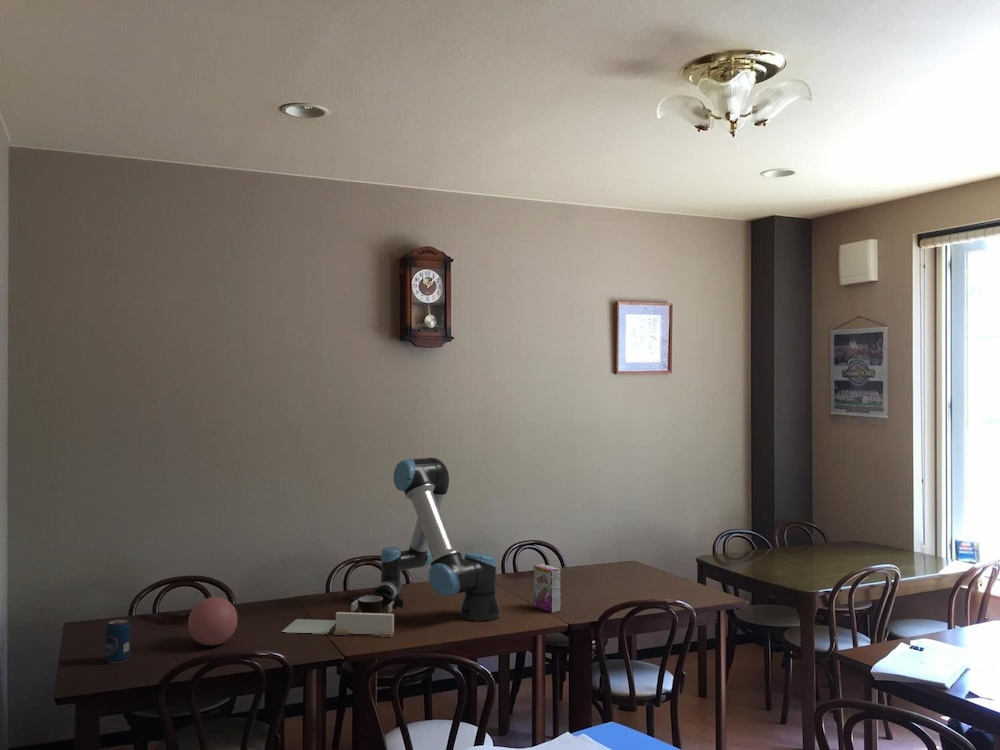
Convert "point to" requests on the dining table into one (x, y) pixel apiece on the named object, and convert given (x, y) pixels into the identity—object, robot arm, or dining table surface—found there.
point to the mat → (310, 626)
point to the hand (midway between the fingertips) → (370, 608)
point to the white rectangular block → (364, 623)
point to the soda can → (117, 641)
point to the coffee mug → (370, 604)
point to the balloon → (212, 621)
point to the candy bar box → (547, 588)
